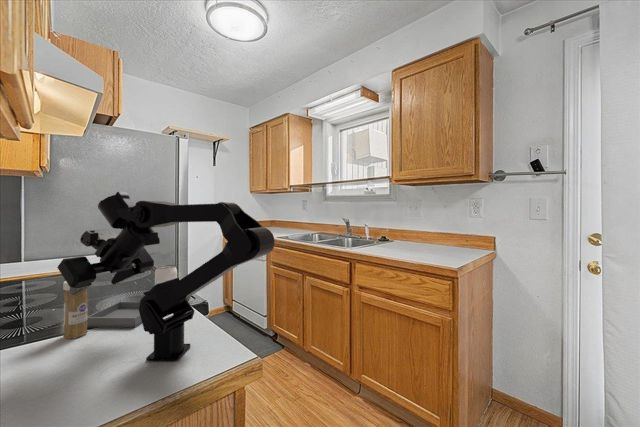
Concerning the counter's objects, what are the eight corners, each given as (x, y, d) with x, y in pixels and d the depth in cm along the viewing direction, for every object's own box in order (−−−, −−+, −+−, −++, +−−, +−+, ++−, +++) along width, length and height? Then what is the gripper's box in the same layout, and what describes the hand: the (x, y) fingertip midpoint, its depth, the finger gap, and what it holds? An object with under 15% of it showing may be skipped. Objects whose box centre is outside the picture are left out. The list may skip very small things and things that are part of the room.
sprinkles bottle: (78, 339, 67) (78, 282, 67) (57, 339, 67) (57, 282, 67) (92, 331, 72) (92, 277, 71) (73, 331, 71) (73, 277, 71)
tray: (135, 327, 74) (135, 318, 74) (84, 327, 74) (84, 317, 74) (162, 309, 87) (162, 301, 87) (119, 309, 87) (119, 301, 87)
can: (155, 300, 95) (155, 265, 95) (177, 298, 98) (177, 263, 98) (153, 306, 89) (153, 268, 89) (176, 304, 92) (176, 267, 92)
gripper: (145, 217, 74) (114, 256, 78) (63, 219, 57) (27, 270, 60) (169, 248, 72) (136, 287, 76) (92, 261, 54) (52, 311, 58)
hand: (93, 287), depth 67 cm, fingers open, 9 cm apart
